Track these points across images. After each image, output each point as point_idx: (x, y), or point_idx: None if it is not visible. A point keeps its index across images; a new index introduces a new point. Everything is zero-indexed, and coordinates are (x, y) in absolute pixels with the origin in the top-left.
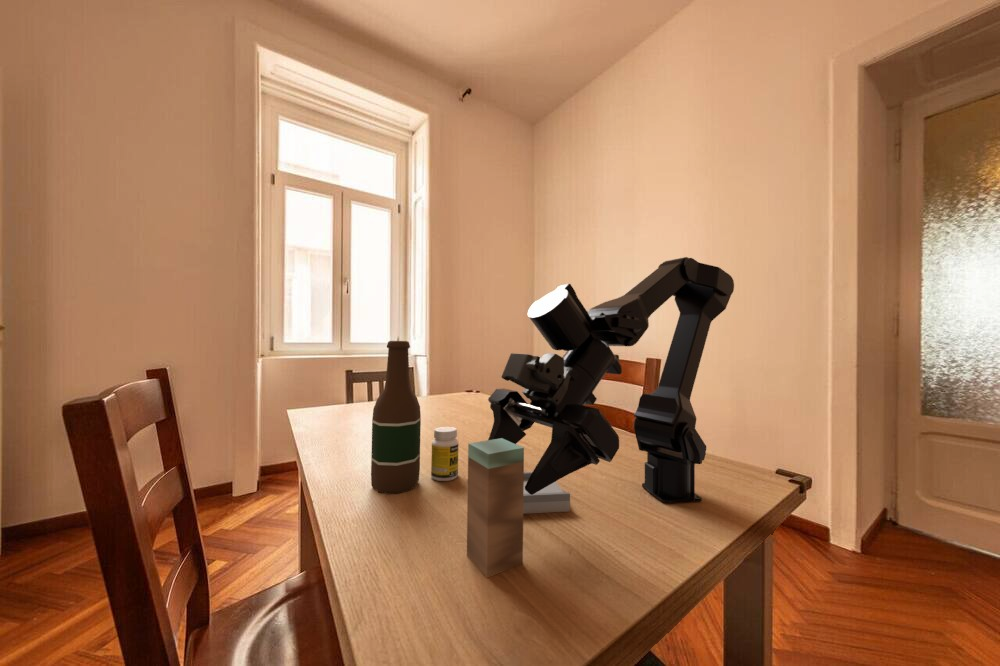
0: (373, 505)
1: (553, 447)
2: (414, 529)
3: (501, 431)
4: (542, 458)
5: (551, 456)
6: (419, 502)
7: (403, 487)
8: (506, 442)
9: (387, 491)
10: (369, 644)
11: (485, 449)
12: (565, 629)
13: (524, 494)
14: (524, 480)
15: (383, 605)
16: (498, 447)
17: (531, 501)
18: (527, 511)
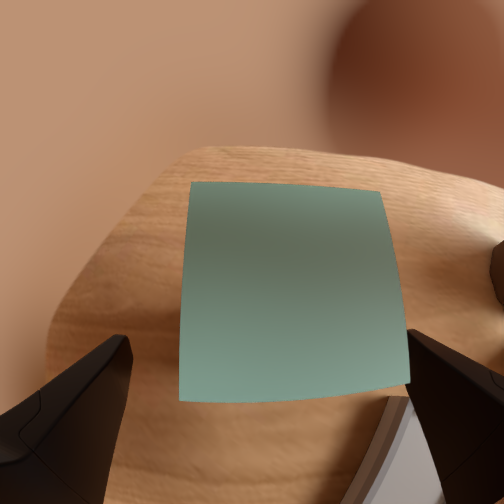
0: (465, 232)
1: (8, 431)
2: None
3: (486, 419)
4: (61, 398)
5: (19, 405)
6: (464, 296)
7: (497, 280)
8: (328, 370)
9: (492, 258)
10: (194, 155)
11: (262, 203)
12: (78, 334)
13: (379, 480)
14: (441, 500)
15: (240, 175)
16: (261, 275)
17: (362, 488)
18: (358, 475)
